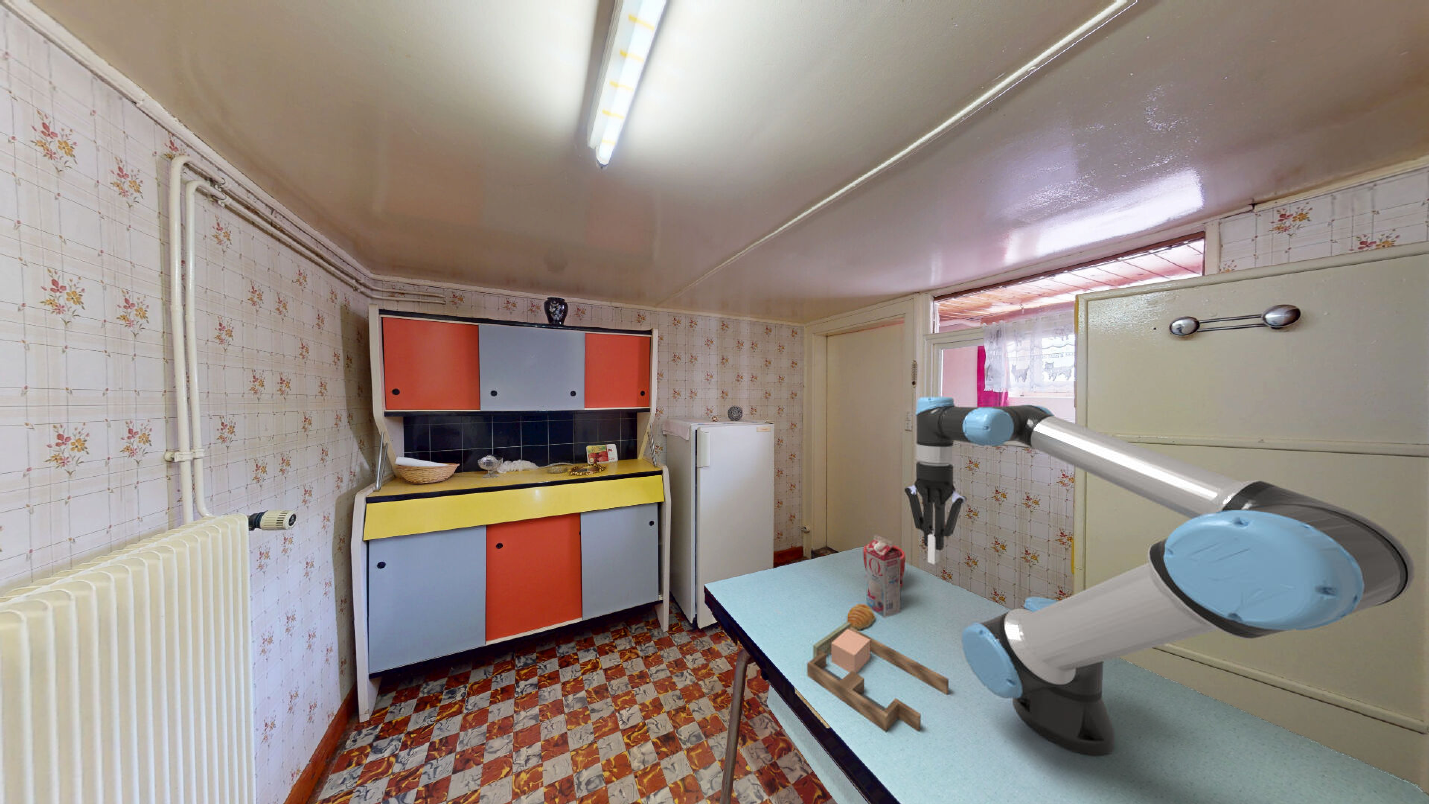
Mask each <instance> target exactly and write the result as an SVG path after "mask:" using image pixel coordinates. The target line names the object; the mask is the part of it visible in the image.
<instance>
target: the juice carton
mask: <svg viewBox="0 0 1429 804" xmlns="http://www.w3.org/2000/svg"><path fill="white" fill-rule="evenodd" d="M873 535H874V536H873V540H872V541H871V542H870V543H868V544H869V545H868V544H867V545H868V546H867V571H866V574H867V579H866V605H867V606H869V607H870V608H871V610H872V611H873V612H875V613H876V614H878V615H879V616H880V617H883V618H886V617H890V616H893V615H896V614H899V613H901V588H900V551H899V550H898V549H895V548H893V541H891V540H889V539H886V538H884V537H882V536H880V535H877V534H875V533H874V534H873Z"/></svg>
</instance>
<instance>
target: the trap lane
mask: <svg viewBox="0 0 1429 804" xmlns="http://www.w3.org/2000/svg"><path fill="white" fill-rule="evenodd" d="M847 629H849V630H851V631H853V632H855V633H857V634H859V635H861V636H864V637H866V638H868V639H870V653H872V654H874V655H876V656H877V657H880V658H881V659H883V660H884V661H886V662H888V663H890V664H892V665H893V666H895V667H897V668H899V669H900V670H903V671H904V672H905V673H907V674H909V675H912V676H913V677H915V678H916V679H918V680H920V681H922V682H923V683H926V684H927V685H929V686H930V687H932V688H934V689H936V690H938V691H939V692H941V693H943V694H945V695H948V694H949V688H950V687H949V678H947V677H946V676H943V675H942V674H940V673H937V672H936V671H934V670H932V669H930V668H928V667H927V666H925V665H923V664H921V663H919V662H918V661H915V660H914V659H912V658H910V657H908V656H907V655H904V654H903V653H900V652H899V651H897V650H895V649H893V648H891V647H890V646H887V645H885V644H884V643H882V642H880V641H878V640H876V639H874V638H873V637H871V636H869V635H867V634H865V633H863V632H861V631H860V630H856V629H854V628H852V627H851V623H849V622H847V621H845V622H844V623H843V624H842V625H840V626H838V627H837V628H836V629H835V630H833V631H832V632H830V633H829V634H827V635H826V636H824V637H823V638H821V639H820V640H818V641H817V642H816V643H815V644H813V646H812V647H813V648H812V649H813V651H812V652H813V653H812V655H813V656H812V659H811V660H809V661H808V662H807V663H806V666H807V667H806V669H807V670H806V675H807V676H808V677H809V678H810V679H811V680H813V681H814V682H816V683H817V684H819V685H820V686H821V687H822V688H824V689H825V690H827V692H829V693H831V694H832V695H834V696H835V697H836V698H838V700H841V701H842V702H844V703H845V704H846V705H847V706H849V707H850V708H852V709H853V710H855V711H856V712H857V713H859V715H862V716H863V717H865V718H866V719H868V720H869V722H871V723H872V724H874V725H875V726H876V727H878V728H880V729H881V730H882V731H883V732H885V733H887V732H888V730H889V729H890V728H891V727H892V726H893V724H894V723H895V722H896V721H897V720H898V719H899V720H900V721H902V722H903V723H904V724H907V725H908V726H910V727H912V728H913V729H914V730H916V731H917V732H919V731H920V730H921V727H922V726H921V724H922V723H921V721H922V719H921V718H922V717H921V713H920V712H919V711H917V710H915V709H914V708H913V707H910V706H909V705H907V704H905V703H904V702H903V701H901V700H900V699H898V698H896V697H895V698H894V699H893V700H892V702H890V703H889V705H888V706H886V707H885V708H886V709H885V710H884V711H883V710H881V709H880V708H878V707H877V706H875V705H874V704H872V703H871V702H869V701H868V700H866V699H865V698H863V697H862V696H860V694H861V693H864V692H865V677H863V676H861V675H859V674H858V672H857V673H855V672H854V671H851V672H848V673H847V674H846V675H845V676H844V677H842V678H841V679H842V680H841V681H838V680H837V679H835V678H834V677H832V676H831V675H829V674H828V673H826V672H825V671H823V670H822V669H821V668H823V667H825V668H826V666H827V656H828V655H830V654H831V643H832V642H833V641H834V640H835V639H836V638H838V637H839V636H840V635H841V634H842V633H843V632H844V631H846V630H847Z"/></svg>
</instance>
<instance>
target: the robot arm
mask: <svg viewBox="0 0 1429 804" xmlns="http://www.w3.org/2000/svg"><path fill="white" fill-rule="evenodd" d="M954 403H955V401H954V398H952V397H951V396H922V397H919V398H918V400H917V402H916V413H915V417H916V422H915V423H916V430H915V432H916V447H915V449H916V451H915V460H916V461H917V462H916V463H915V467H916V468H915V476H916V479H915V481H914V483H913V485H911V486H908V487H905V488H904V493H905V494H906V496H907V498H908V501H909V504H910V509H911V514H912V517H913V521H914V522H913V523H914V526H915V528H916V530H919V531H922V533H923V546H925V547H927V563H930V564H931V565H932V564H933V565H936V564H938V562H940V551H943V549H944V548H945V542H944V541H945V537H950V536H952V535H953V533H954V532H955V529H956V525H957V522H958V518H959V515H960V511H961V508H962V506H963V505H964V503H966V501H967V497H966V496H964V495H961V494H959V493H958V492H957V491H956V488H955V485H954V466H953V464H952V463H953V462H954V441H958V442H964V443H969V444H974V445H978V446H981V447H983V446H988V447H989V446H991V447H998V446H1003V445H1005V443H1006V442H1016V443H1017V442H1018V443H1021V444H1023V445H1024V446H1027V447H1029V448H1032V449H1034V450H1037V451H1039V452H1041V453H1044V454H1045V455H1048V456H1050V457H1052V458H1054V459H1057V460H1059V461H1061V462H1063V463H1066V464H1068V465H1071V466H1072V467H1075V468H1077V469H1079V470H1081V471H1084V472H1086V473H1088V474H1091V475H1092V476H1094V477H1098V478H1100V479H1101V480H1104V481H1106V482H1108V483H1110V484H1113V485H1115V486H1117V487H1119V488H1122V489H1124V490H1125V491H1128V492H1130V493H1133V494H1135V495H1137V496H1140V497H1142V498H1143V499H1146V500H1148V501H1151V502H1152V503H1155V504H1157V505H1159V506H1162V507H1163V508H1166V509H1168V510H1170V511H1172V512H1175V513H1177V514H1179V515H1182V516H1184V517H1186V518H1189V520H1187V521H1185V522H1184V523H1182V524H1181V525H1180V526H1178V527H1177V528H1175V529H1173V531H1172V532H1171V533H1170V534H1169V535H1168V537H1167V538H1164V539H1162V540H1160V541H1158V542H1156V543H1154V544H1151V546H1149V547H1148V550H1147V554H1146V555H1147V560H1148V562H1147V563H1145V564H1142V565H1140V566H1136V567H1135V568H1132V569H1131V570H1128V571H1125V572H1124V573H1120V574H1118V575H1117V576H1114V577H1111V578H1110V579H1107V580H1105V581H1103V582H1100V583H1098V584H1096V585H1093V586H1090V587H1089V588H1086V589H1084V590H1082V591H1080V592H1078V593H1075V594H1073V595H1070V596H1068V597H1066V598H1064V599H1061V600H1059V601H1058V600H1055V599H1051V598H1046V597H1042V596H1030V597H1027V598H1025V600H1024V604H1023V607H1024V608H1014V609H1011V610H1010V611H1007V612H1005V613H1003V614H1000V615H999V616H996V617H994V618H991V619H990V620H986V621H983V622H980V623H979V622H973V623H972V624H971V625H968V626H967V627H965V628H964V629H963V630H962V633H961V645H962V647H961V648H962V651H963V654H964V657H965V659H966V662H967V663H968V665H969V667H970V669H971V671H972V673H973V674H974V675H975V676H976V678H977V679H978V681H979V682H980V683H981V684H982V685H983V686H984V687H986V688H987V689H988V691H990V692H991V693H993V694H994V695H996V696H997V697H1000V698H1003V699H1012V705H1013V708H1014V709H1015V712H1016V714H1017V715H1018V716H1019V717H1020V718H1021V720H1022V721H1023V722H1024V723H1025V724H1026V725H1027V726H1029V727H1030V728H1031V729H1032V730H1033V731H1035V732H1036V733H1037V734H1039V735H1040V736H1041V737H1043V738H1045V739H1047V740H1048V741H1050V742H1052V743H1054V744H1056V745H1057V746H1060V747H1062V748H1065V749H1066V750H1069V751H1073V752H1075V753H1078V754H1083V755H1088V756H1104V755H1107V754H1110V753H1111V752H1112V751H1113V750H1114V747H1115V731H1114V727H1113V723H1112V722H1111V719H1110V716H1109V714H1108V711H1107V708H1106V706H1105V702H1104V700H1103V675H1104V661H1108V660H1112V659H1116V658H1120V657H1123V656H1127V655H1130V654H1134V653H1138V652H1141V651H1145V650H1150V649H1152V648H1156V647H1160V646H1164V645H1167V644H1171V643H1174V642H1178V641H1183V640H1186V639H1190V638H1193V637H1197V636H1201V635H1205V634H1208V633H1211V632H1216V631H1219V632H1221V633H1223V634H1224V633H1225V634H1227V635H1229V636H1231V637H1235V638H1239V639H1244V640H1250V639H1251V640H1252V639H1257V638H1261V637H1265V636H1269V635H1274V634H1278V633H1283V632H1286V631H1292V630H1298V631H1304V630H1312V629H1317V628H1321V627H1324V626H1328V625H1331V624H1333V623H1334V624H1335V622H1338V621H1340V620H1342V619H1344V618H1345V617H1346V616H1350V615H1352V614H1355V613H1358V612H1360V611H1363V610H1368V609H1370V608H1373V607H1377V606H1381V605H1384V604H1388V603H1390V602H1392V601H1394V600H1397V599H1398V598H1400V597H1401V596H1402V595H1404V594H1405V593H1406V592H1407V591H1408V590H1409V589H1411V585H1412V583H1413V582H1414V580H1415V570H1416V569H1415V566H1414V561H1413V558H1412V556H1411V554H1410V553H1409V551H1408V550H1407V549H1406V547H1405V546H1404V545H1403V544H1402V542H1401V541H1400V539H1397V537H1396V536H1394V535H1393V534H1392V533H1391V532H1389V531H1388V530H1387V529H1386V528H1384V527H1382V526H1380V525H1379V524H1377V523H1376V522H1374V521H1373V520H1370V519H1368V518H1367V517H1365V516H1363V515H1360V514H1358V513H1356V512H1353V511H1351V510H1349V509H1346V508H1343V507H1341V506H1337V505H1334V504H1332V503H1329V502H1326V501H1323V500H1320V499H1316V498H1314V497H1312V496H1307V495H1304V494H1302V493H1298V492H1295V491H1293V490H1289V489H1287V488H1283V487H1280V486H1278V485H1275V484H1271V483H1268V482H1267V481H1266V482H1265V481H1263V480H1259V479H1254V480H1247V481H1240V480H1237V479H1234V478H1231V477H1229V476H1226V475H1223V474H1221V473H1220V474H1219V473H1217V472H1214V471H1211V470H1209V469H1205V468H1203V467H1200V466H1196V465H1194V464H1191V463H1189V462H1186V461H1183V460H1179V459H1177V458H1174V457H1171V456H1170V455H1165V454H1162V453H1160V452H1158V451H1157V452H1156V451H1154V450H1152V449H1149V448H1145V447H1142V446H1140V445H1137V444H1135V443H1131V442H1128V441H1125V440H1123V439H1121V438H1117V437H1114V436H1111V435H1108V434H1106V433H1103V432H1100V431H1098V430H1097V431H1096V430H1094V429H1091V428H1089V427H1085V426H1082V425H1080V424H1078V423H1074V422H1071V421H1068V420H1065V419H1063V418H1060V417H1057V416H1055V415H1054V414H1053V412H1051V410H1049V409H1048V408H1046V407H1044V406H1042V405H1033V404H1022V405H1005V406H1004V405H1003V406H1002V405H1001V406H956V405H955V404H954ZM918 493H919V495H918ZM919 496H920V497H921V498H922V505H923V509H922V507H921V503H920V498H919ZM951 497H952V499H951V502H952V504H951V506H950V509H949V513H948V517H947V520H945V519H946V510H945V509H946V506H947V505H946V504H947V503H946V502H947V501H949V499H950V498H951ZM945 522H946V523H945Z"/></svg>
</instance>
